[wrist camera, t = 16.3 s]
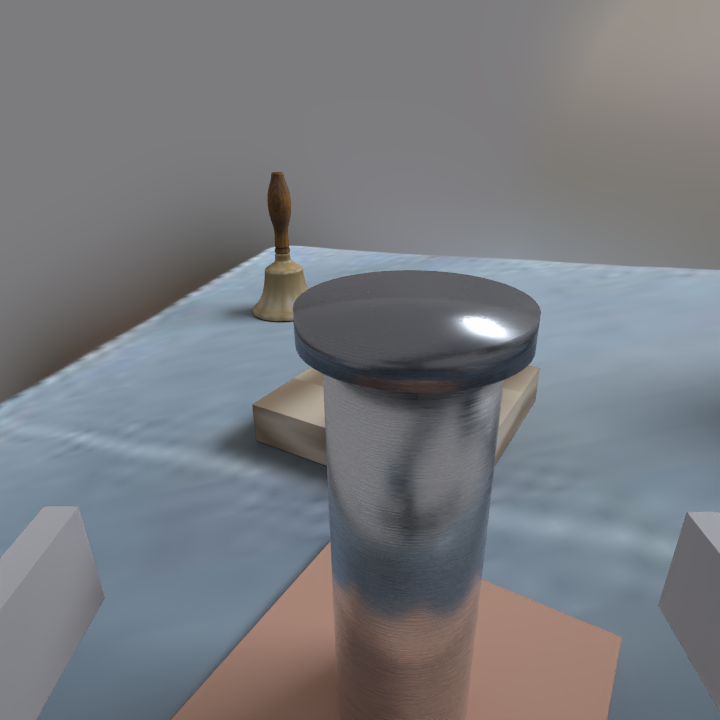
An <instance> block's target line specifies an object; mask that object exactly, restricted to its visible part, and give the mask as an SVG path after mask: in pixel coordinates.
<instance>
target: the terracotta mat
mask: <svg viewBox="0 0 720 720" xmlns="http://www.w3.org/2000/svg"><path fill="white" fill-rule="evenodd" d="M621 639H622V637H620V636H617V635H615V634H613V633H610V632H608V631H605V630H603V629H600V628H598V627H596V626H593V625H591V624H588V623H586V622H584V621H581V620H579V619H576V618H574V617H571V616H569V615H567V614H564V613H562V612H559V611H557V610H555V609H552V608H550V607H547V606H545V605H542V604H540V603H538V602H535V601H533V600H530V599H528V598H526V597H523V596H521V595H518V594H516V593H513V592H511V591H509V590H506V589H504V588H501V587H499V586H497V585H494V584H492V583H489V582H487V581H484V580H481V589H480V598H479V607H478V616H477V625H476V634H475V643H474V651H473V660H472V669H471V678H470V687H469V696H468V705H467V713H466V719H465V720H607V717H608V711H609V706H610V700H611V695H612V689H613V683H614V678H615V672H616V667H617V661H618V656H619V650H620V644H621ZM171 720H342V719H341V716H340V713H339V708H338V698H337V676H336V654H335V632H334V610H333V588H332V565H331V543H330V542H329V543H328V544H327V546H326V547H325V548H324V549H323V550H322V551H321V552H320V553H319V555H318V556H317V557H316V558H315V559H314V560H313V561H312V562H311V564H310V565H309V566H308V567H307V568H306V569H305V570H304V571H303V572H302V574H301V575H300V576H299V577H298V578H297V579H296V580H295V581H294V583H293V584H292V585H291V586H290V587H289V588H288V589H287V590H286V591H285V593H284V594H283V595H282V596H281V597H280V598H279V599H278V600H277V602H276V603H275V604H274V605H273V606H272V607H271V608H270V609H269V610H268V612H267V613H266V614H265V615H264V616H263V617H262V618H261V619H260V621H259V622H258V623H257V624H256V625H255V626H254V627H253V628H252V629H251V631H250V632H249V633H248V634H247V635H246V636H245V637H244V638H243V640H242V641H241V642H240V643H239V644H238V645H237V646H236V647H235V648H234V650H233V651H232V652H231V653H230V654H229V655H228V656H227V657H226V659H225V660H224V661H223V662H222V663H221V664H220V665H219V666H218V667H217V669H216V670H215V671H214V672H213V673H212V674H211V675H210V676H209V678H208V679H207V680H206V681H205V682H204V683H203V684H202V685H201V686H200V688H199V689H198V690H197V691H196V692H195V693H194V694H193V695H192V697H191V698H190V699H189V700H188V701H187V702H186V703H185V704H184V705H183V707H182V708H181V709H180V710H179V711H178V712H177V713H176V714H175V716H174V717H173V718H172V719H171Z"/></svg>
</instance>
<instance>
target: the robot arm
mask: <svg viewBox="0 0 720 720" xmlns="http://www.w3.org/2000/svg"><path fill="white" fill-rule="evenodd" d="M104 598H105V597H104V594H103V590H102V587H101V583H100V580H99V576H98V573H97V569H96V566H95V562H94V559H93V555H92V552H91V548H90V545H89V541H88V538H87V535H86V531H85V528H84V524H83V521H82V517H81V514H80V510H79V507H60V506H44V507H43V508H42V510H41V511H40V512H39V513H38V514H37V515H36V517H35V518H34V519H33V520H32V521H31V523H30V524H29V525H28V526H27V527H26V528H25V530H24V531H23V532H22V533H21V534H20V535H19V537H18V538H17V539H16V540H15V541H14V543H13V544H12V545H11V546H10V547H9V548H8V550H7V551H6V552H5V553H4V554H3V556H2V557H1V558H0V720H37V718H38V716H39V714H40V712H41V711H42V709H43V707H44V705H45V704H46V702H47V700H48V698H49V696H50V695H51V693H52V691H53V689H54V687H55V686H56V684H57V682H58V680H59V679H60V677H61V675H62V673H63V671H64V670H65V668H66V666H67V664H68V662H69V661H70V659H71V657H72V655H73V654H74V652H75V650H76V648H77V646H78V645H79V643H80V641H81V639H82V638H83V636H84V634H85V632H86V630H87V629H88V627H89V625H90V623H91V621H92V620H93V618H94V616H95V614H96V613H97V611H98V609H99V607H100V605H101V604H102V602H103V600H104ZM658 606H659V607H660V609H661V611H662V613H663V614H664V616H665V618H666V619H667V621H668V623H669V625H670V626H671V628H672V630H673V632H674V633H675V635H676V637H677V638H678V640H679V642H680V644H681V645H682V647H683V649H684V651H685V652H686V654H687V656H688V657H689V659H690V661H691V663H692V664H693V666H694V668H695V670H696V671H697V673H698V675H699V676H700V678H701V680H702V682H703V683H704V685H705V687H706V689H707V690H708V692H709V694H710V695H711V697H712V699H713V701H714V702H715V704H716V706H717V707H718V709H719V711H720V512H687V513H686V516H685V520H684V523H683V526H682V529H681V533H680V536H679V539H678V543H677V546H676V549H675V552H674V556H673V559H672V562H671V565H670V569H669V572H668V575H667V578H666V582H665V585H664V588H663V592H662V595H661V598H660V601H659V605H658Z"/></svg>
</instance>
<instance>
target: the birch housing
mask: <svg viewBox="0 0 720 720" xmlns="http://www.w3.org/2000/svg"><path fill="white" fill-rule="evenodd" d="M539 370H540V368H538V367H533V366H527V367H526V368H525V369H523V370H522V371H520V372H519V373H518V374H516V375H514V376H512V377H510V378H507V379H505V380H504V384H503V393H502V402H501V411H500V420H499V428H498V437H497V446H496V455H495V464H494V466H495V465H496V463H497V462H498V460H499V458H500V457H501V455H502V454H503V452H504V450H505V449H506V447H507V445H508V444H509V442H510V441H511V439H512V437H513V436H514V434H515V433H516V431H517V429H518V428H519V426H520V425H521V423H522V421H523V420H524V418H525V417H526V415H527V413H528V412H529V410H530V408H531V407H532V405H533V404H534V402H535V399H536V392H537V385H538V377H539ZM252 406H253V415H254V424H255V433H256V441H259V442H262V443H265V444H267V445H270V446H273V447H276V448H279V449H281V450H284V451H287V452H290V453H292V454H295V455H298V456H301V457H303V458H306V459H309V460H312V461H315V462H317V463H320V464H323V465H326V466H327V455H326V433H325V411H324V389H323V374H322V373H321V372H319V371H317V370H315V369H313V368H312V367H311V368H309V369H308V370H306V371H304V372H303V373H301V374H300V375H298V376H296V377H295V378H293V379H292V380H290V381H289V382H287V383H285V384H284V385H282V386H281V387H279V388H278V389H276V390H274V391H273V392H271V393H270V394H268V395H267V396H265V397H263V398H262V399H260V400H259V401H257V402H256V403H254V404H252Z"/></svg>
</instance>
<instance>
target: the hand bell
mask: <svg viewBox="0 0 720 720" xmlns="http://www.w3.org/2000/svg"><path fill="white" fill-rule="evenodd" d="M268 209H269V214H270V218H271V221H272V224H273V227H274V231H275V247H276V248H275V253H276V254H275V262H274V263H272V264H271V265H269V266H267V267H266V269H265V282H264V289H263V293H262V296H261V298H260V300H259V302H258V303H257V304H256V305H255V306H254V308H253V314H254V316H255V317H257V318H260V319H263V320H267V321H294V319H293V305H294V302H295V300H296V299H297V297H299V296H300V295H301V294H302V293H303V292H305V291H306V290H308V288H307V285H306V282H305V278H304V274H303V268H302V266H301V265H299V264H297V263H295V262H293V261H291V259H290V253H289V252H290V248H289V239H288V225H289V220H290V215H291V199H290V193H289V189H288V187H287V184H286V181H285V179H284V174H283V172H272V174H271V181H270V185H269V190H268Z"/></svg>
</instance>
